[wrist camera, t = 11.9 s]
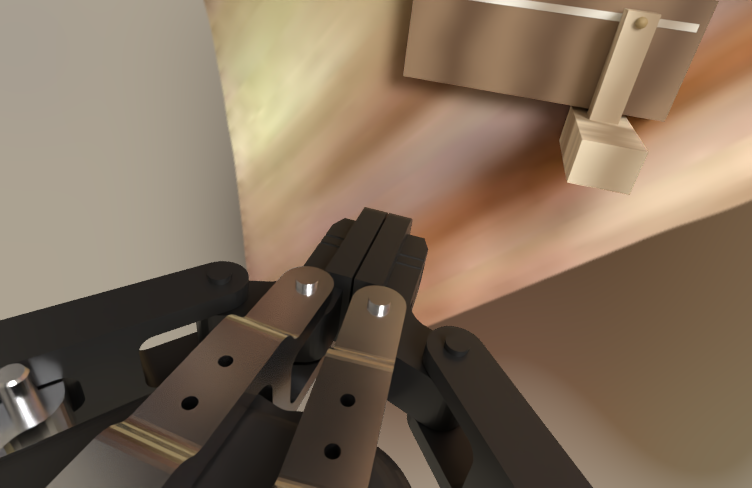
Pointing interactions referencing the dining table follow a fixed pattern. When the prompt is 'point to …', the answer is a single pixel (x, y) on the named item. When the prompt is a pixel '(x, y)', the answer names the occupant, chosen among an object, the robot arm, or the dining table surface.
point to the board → (552, 47)
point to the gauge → (610, 114)
